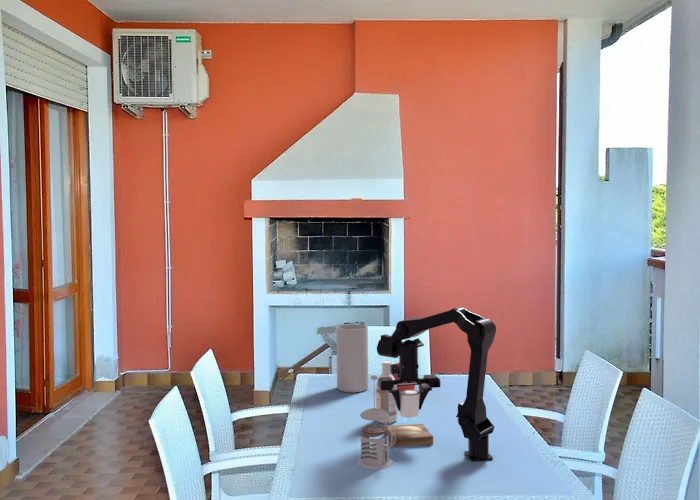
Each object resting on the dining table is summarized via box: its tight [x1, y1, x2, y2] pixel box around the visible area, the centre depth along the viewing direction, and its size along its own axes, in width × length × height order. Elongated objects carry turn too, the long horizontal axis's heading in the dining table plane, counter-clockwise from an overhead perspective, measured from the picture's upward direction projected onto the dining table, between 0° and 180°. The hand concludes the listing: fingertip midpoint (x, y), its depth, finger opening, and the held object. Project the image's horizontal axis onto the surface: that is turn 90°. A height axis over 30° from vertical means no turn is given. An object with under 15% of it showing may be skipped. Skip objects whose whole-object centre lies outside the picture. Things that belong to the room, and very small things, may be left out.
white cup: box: [399, 389, 420, 418], centre depth 204 cm, size 7×7×7 cm
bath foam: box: [375, 360, 398, 424], centre depth 222 cm, size 7×7×20 cm
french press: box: [357, 374, 396, 470], centre depth 184 cm, size 10×12×25 cm
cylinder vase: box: [335, 323, 369, 393], centre depth 263 cm, size 12×12×25 cm
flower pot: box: [393, 362, 416, 391], centre depth 261 cm, size 11×11×10 cm
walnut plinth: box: [386, 423, 434, 448], centre depth 205 cm, size 12×12×3 cm
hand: (409, 409), depth 204 cm, fingers closed on white cup, 6 cm apart
